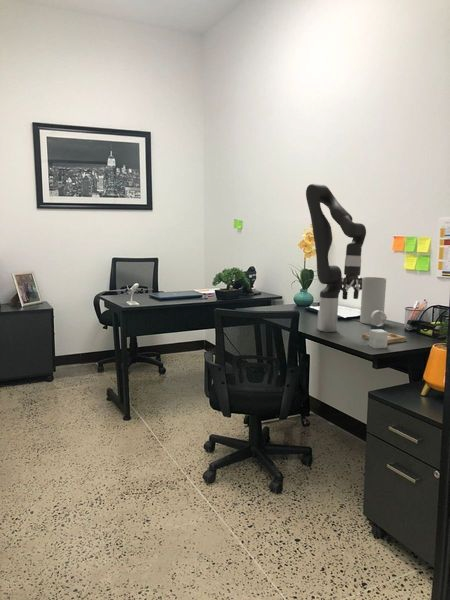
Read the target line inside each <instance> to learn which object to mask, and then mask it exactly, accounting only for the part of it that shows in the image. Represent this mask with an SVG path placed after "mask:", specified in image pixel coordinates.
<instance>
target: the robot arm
mask: <svg viewBox="0 0 450 600" xmlns="http://www.w3.org/2000/svg"><path fill="white" fill-rule="evenodd" d="M305 197H306V202H307V206H308V211H309V214H310V220H311V227H312V234H313V235H312V237H313V241H314V247H315V256H316V257H315V258H316V274H317V279H318V281H319V283H320V284H321V285H326V286H325V287H324V288H323V289H322V290H320V292H319V307H318V309H319V310H318V311H317V321H316V322H317V325H316V328H317V331H319V332H326V333H334V332H337V330H338V316H339V315H338V314H339V313H338V311H339V310H338V309H339V295H340V292H341V291H342V300H348V293H349V292H348V291H349V289H350V288H353V297H352V298H353V299H354V300H358V299H359V295H360V294H359V293H360V291H362V279H363V277H359V276H361V269H362V248H363V245H364V243H365V238H366V236H367V228H366V226H365V224H363V223H359V222H354V221H353V217H352V215H351V214H350V213H349V212H348V210H346V209H345V207H343V206H342V205H341V204H340V202H339V201H338V200H337V199H336V197H335V195H334V194H333V193H332V192H331V189H330V188H329V187H328V186H327V185H325V184H321V183H320V184H318V183H310V184H309V185H307V187H306V190H305ZM321 204H323V205H324V206H326V207H327V208H328V210H329V212H330V215H331V217H332V219H333V221H335V222H336V223H337V225H338V226H339V227H340V228H341V231H342V233H343V234H344V235H345V236H346V237H348V238H351V239H352V241H351V242H349V243H348V244H347V245H346V250H345V258H344V268H343V269H344V271H343V274H344V275H345V277H344V276H343V274H342V270H341V268H340V266H338V265H334V264H333V265H330V262H329V251H330V248H331V247H332V243H333V231H332V227H331V223H330V222H329V220H328V218H327V217H326V215H325V214H324V212H323V210H322V207H321Z"/></svg>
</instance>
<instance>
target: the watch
mask: <svg viewBox="0 0 450 600" xmlns="http://www.w3.org/2000/svg"><path fill="white" fill-rule="evenodd" d="M377 312H379V316H380V318H381V319H382V322H381V323H380V324H379V325H376V323H375V321H374V314H375V313H377ZM370 319H371V322H372V324H373V325H370V330H375V329H382V330H384V331H385V326H384V324H385V323H386V321H387V319H388V317H387V314H386V313H385V311H384V312H383V311H379V310H376V311H374V312H373V313H372V314H371V318H370Z"/></svg>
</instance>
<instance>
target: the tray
mask: <svg viewBox="0 0 450 600" xmlns="http://www.w3.org/2000/svg"><path fill="white" fill-rule="evenodd" d="M361 335H362V336H361V338H362V339H363V340H368V341H369V332H367V333H362V334H361ZM403 342H404V343H405V342H407V336H404V335H399V334H395V333H391V332H388V337H387V345H392V344H397V343H403Z"/></svg>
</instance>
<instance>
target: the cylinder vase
mask: <svg viewBox="0 0 450 600" xmlns="http://www.w3.org/2000/svg"><path fill="white" fill-rule="evenodd" d="M386 290H387V278H385V277H374V276H366V277H365V276H364V277H362V290H361V298H360V314H359V316H360V317H359V323H362V324H364V325H369V326H371V325H373V324H372V322H371V319H370V318H371V314H372V313H373V312H374V311H376V310H379V311H383V312H384V313H385V305H386V304H385V303H386V302H385V301H386ZM374 321H375V323H376V325H379V324H380V323H381V322H382V319H381V318H380V316H379V312H377V313H375V314H374Z"/></svg>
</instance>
